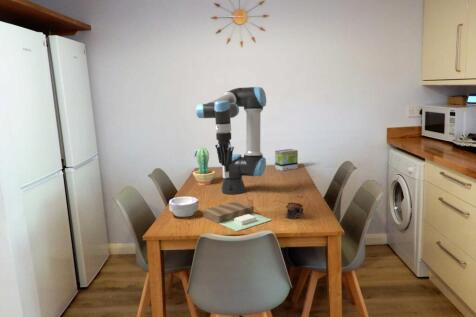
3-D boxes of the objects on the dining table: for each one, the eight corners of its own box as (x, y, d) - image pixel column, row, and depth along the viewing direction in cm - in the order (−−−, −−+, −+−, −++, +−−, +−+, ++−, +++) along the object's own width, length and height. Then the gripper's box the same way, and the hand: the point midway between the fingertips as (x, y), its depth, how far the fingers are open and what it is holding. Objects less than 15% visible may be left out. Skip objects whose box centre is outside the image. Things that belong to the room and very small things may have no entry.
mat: (253, 213, 207) (253, 213, 207) (271, 220, 196) (271, 219, 196) (219, 223, 194) (219, 223, 194) (236, 231, 183) (236, 230, 183)
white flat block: (256, 216, 195) (256, 220, 195) (248, 214, 199) (248, 217, 200) (241, 221, 189) (241, 225, 190) (234, 218, 194) (234, 222, 194)
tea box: (282, 171, 303) (281, 152, 300) (274, 169, 312) (274, 150, 309) (298, 168, 310) (297, 149, 307) (290, 166, 319) (290, 148, 316)
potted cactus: (209, 179, 285) (207, 145, 281) (219, 183, 272) (217, 147, 268) (189, 183, 277) (187, 147, 273) (199, 187, 264) (197, 150, 260)
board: (237, 207, 218) (237, 200, 217) (253, 213, 207) (253, 206, 206) (203, 217, 205) (203, 209, 204) (219, 223, 194) (218, 216, 193)
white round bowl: (204, 213, 210) (203, 199, 208) (181, 221, 200) (180, 206, 198) (187, 208, 221) (186, 194, 219) (164, 215, 211) (163, 200, 209)
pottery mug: (280, 217, 202) (283, 201, 204) (294, 222, 206) (296, 206, 208) (295, 217, 191) (298, 200, 194) (309, 222, 196) (312, 206, 198)
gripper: (210, 131, 202) (212, 176, 206) (225, 134, 191) (227, 181, 196) (222, 130, 206) (224, 174, 211) (237, 132, 196) (239, 178, 201)
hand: (226, 177), depth 204 cm, fingers closed
